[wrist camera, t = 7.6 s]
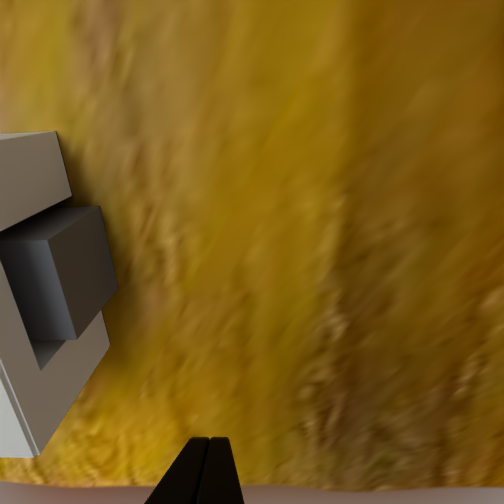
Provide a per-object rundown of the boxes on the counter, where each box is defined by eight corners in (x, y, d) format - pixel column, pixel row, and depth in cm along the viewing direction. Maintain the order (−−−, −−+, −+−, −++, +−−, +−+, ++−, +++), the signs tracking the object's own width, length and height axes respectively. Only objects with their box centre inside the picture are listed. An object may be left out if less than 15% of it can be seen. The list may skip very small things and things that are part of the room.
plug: (100, 205, 18) (47, 240, 14) (118, 287, 20) (77, 339, 15) (-19, 210, 18) (-106, 245, 14) (11, 289, 20) (-59, 341, 16)
